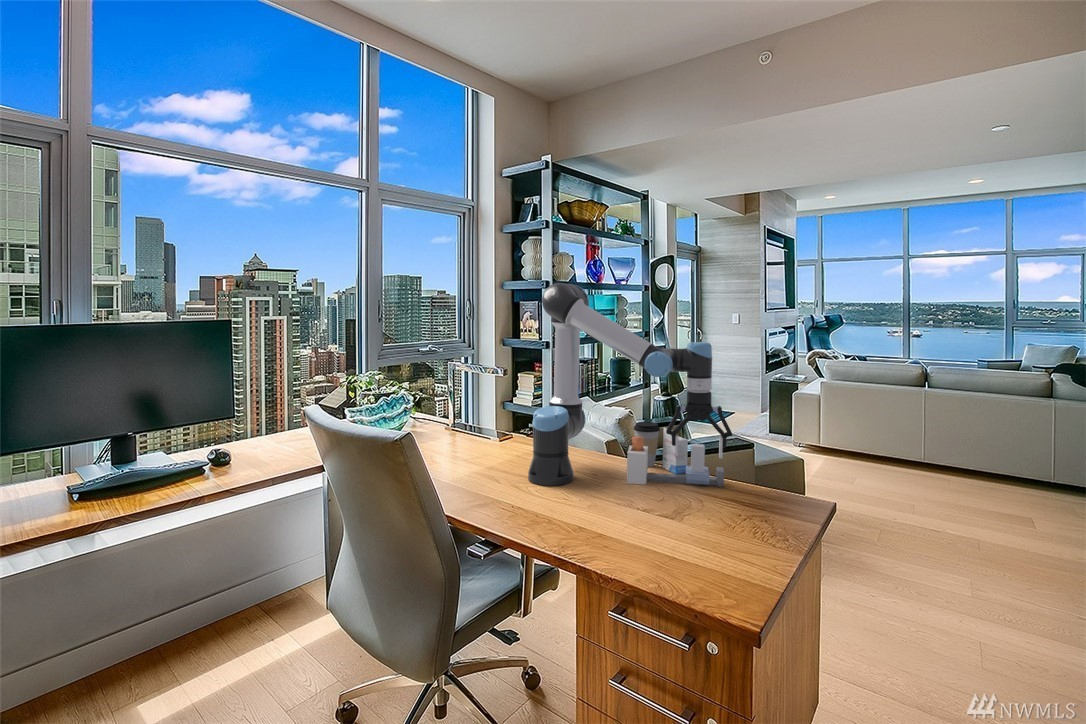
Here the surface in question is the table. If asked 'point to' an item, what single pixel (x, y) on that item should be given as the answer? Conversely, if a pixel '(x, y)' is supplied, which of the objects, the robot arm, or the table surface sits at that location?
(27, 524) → the table surface
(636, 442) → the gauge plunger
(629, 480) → the cabinet
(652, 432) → the coffee cup
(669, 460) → the ink box
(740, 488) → the table surface
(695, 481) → the carriage
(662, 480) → the rail
